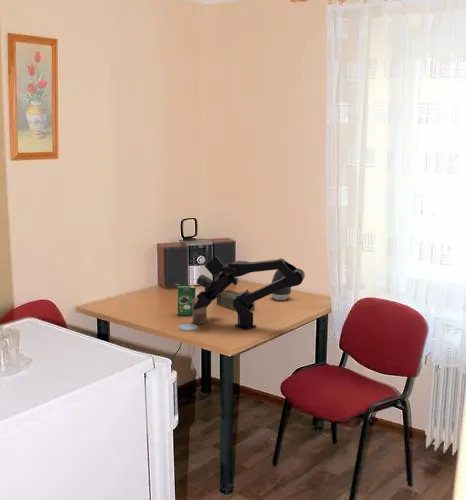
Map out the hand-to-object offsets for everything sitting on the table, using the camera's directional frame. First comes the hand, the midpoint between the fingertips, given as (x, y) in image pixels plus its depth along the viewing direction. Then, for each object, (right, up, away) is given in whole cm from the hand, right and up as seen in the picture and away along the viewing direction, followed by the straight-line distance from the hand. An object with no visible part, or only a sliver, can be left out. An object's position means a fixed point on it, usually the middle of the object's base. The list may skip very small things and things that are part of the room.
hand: (196, 306), depth 267 cm
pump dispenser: (+39, 0, +38) cm, 54 cm away
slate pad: (-3, -8, -6) cm, 11 cm away
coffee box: (-5, -5, +12) cm, 14 cm away
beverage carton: (+17, -3, +24) cm, 29 cm away
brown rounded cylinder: (+1, -7, +1) cm, 7 cm away
